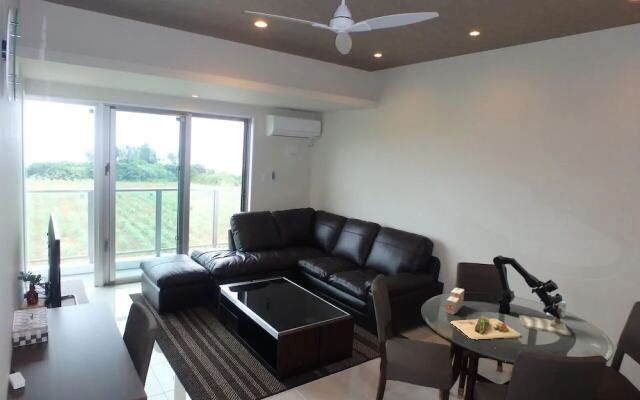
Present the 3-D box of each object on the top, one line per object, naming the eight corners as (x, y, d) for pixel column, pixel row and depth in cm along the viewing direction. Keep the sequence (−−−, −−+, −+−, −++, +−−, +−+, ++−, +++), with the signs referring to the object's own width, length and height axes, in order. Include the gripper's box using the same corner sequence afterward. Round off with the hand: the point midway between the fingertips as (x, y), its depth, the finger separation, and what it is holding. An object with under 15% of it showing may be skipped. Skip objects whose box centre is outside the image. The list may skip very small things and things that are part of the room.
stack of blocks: (454, 315, 258) (456, 297, 256) (445, 312, 261) (446, 295, 260) (462, 305, 275) (464, 289, 274) (453, 303, 279) (455, 286, 277)
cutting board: (495, 320, 255) (497, 309, 254) (522, 338, 232) (524, 326, 231) (448, 323, 246) (450, 312, 245) (471, 342, 223) (473, 329, 222)
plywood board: (523, 327, 245) (524, 325, 245) (518, 316, 262) (519, 314, 261) (570, 335, 238) (570, 333, 238) (562, 324, 254) (562, 322, 254)
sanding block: (550, 326, 246) (552, 309, 244) (552, 322, 251) (555, 306, 249) (561, 329, 242) (563, 312, 240) (563, 326, 247) (566, 309, 245)
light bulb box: (559, 313, 272) (562, 298, 270) (564, 317, 265) (567, 302, 264) (544, 312, 273) (546, 297, 271) (548, 316, 266) (550, 301, 265)
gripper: (551, 293, 239) (569, 316, 233) (558, 286, 253) (575, 308, 247) (535, 301, 245) (552, 324, 239) (543, 294, 259) (559, 315, 253)
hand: (560, 318), depth 245 cm, fingers closed on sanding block, 4 cm apart
